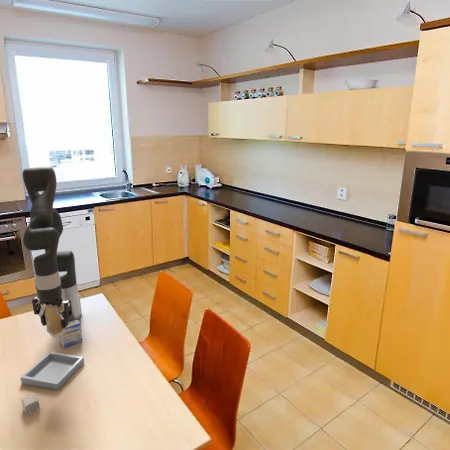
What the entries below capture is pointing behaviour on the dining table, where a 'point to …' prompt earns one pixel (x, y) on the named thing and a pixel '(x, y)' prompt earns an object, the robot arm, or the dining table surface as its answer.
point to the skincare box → (54, 321)
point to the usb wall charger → (30, 404)
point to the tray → (52, 371)
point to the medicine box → (71, 334)
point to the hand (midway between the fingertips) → (55, 325)
